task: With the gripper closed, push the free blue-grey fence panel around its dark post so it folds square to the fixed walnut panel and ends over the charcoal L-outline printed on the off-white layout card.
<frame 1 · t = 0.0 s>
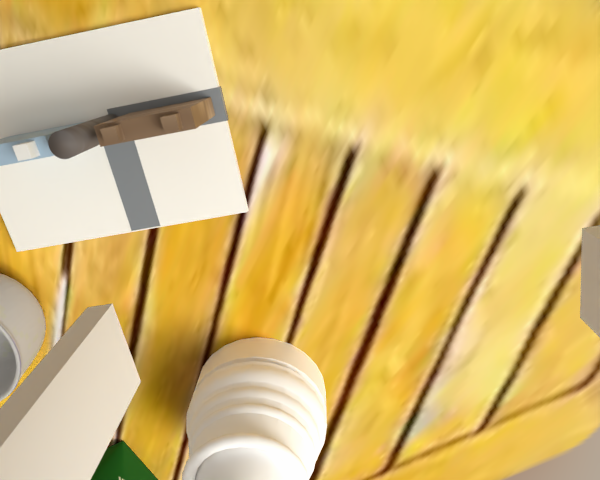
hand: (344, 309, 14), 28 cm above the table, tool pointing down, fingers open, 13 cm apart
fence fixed: (115, 124, 40), resting on layout card
milk carton: (116, 472, 54), on the table
layout card: (102, 139, 40), on the table
fence panel: (24, 146, 36), point 5 cm above the table, hinge at 0.0°
honey pot: (261, 390, 49), on the table
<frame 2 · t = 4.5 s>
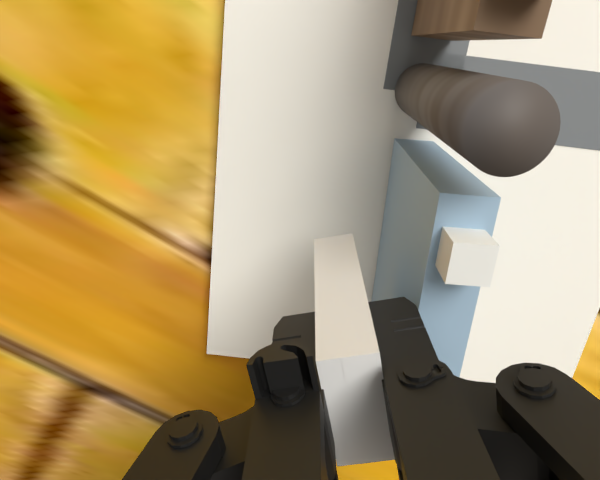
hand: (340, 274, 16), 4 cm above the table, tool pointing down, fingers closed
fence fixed: (417, 88, 18), resting on layout card
layout card: (435, 133, 18), on the table
fence panel: (419, 275, 15), point 5 cm above the table, hinge at 2.6°, touching gripper
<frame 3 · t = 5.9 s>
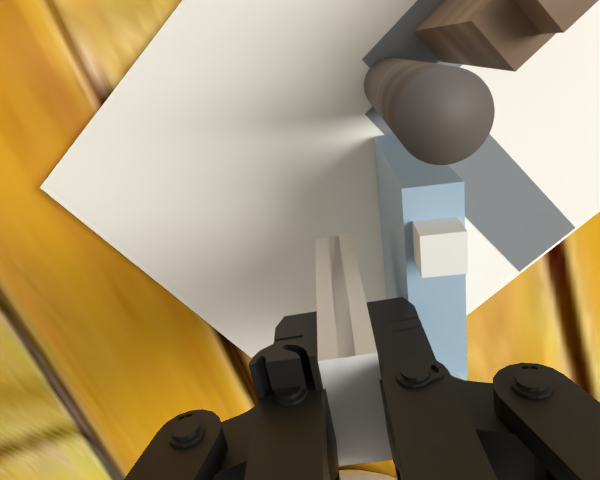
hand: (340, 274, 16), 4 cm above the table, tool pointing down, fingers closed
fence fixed: (387, 83, 18), resting on layout card
layout card: (376, 133, 18), on the table
fence panel: (417, 269, 15), point 5 cm above the table, hinge at 51.2°, touching gripper
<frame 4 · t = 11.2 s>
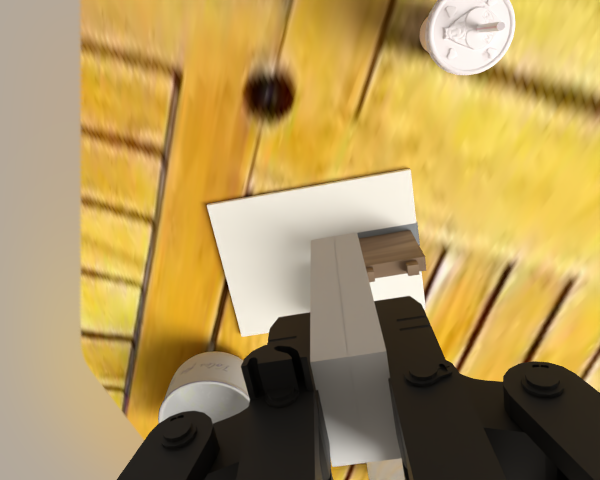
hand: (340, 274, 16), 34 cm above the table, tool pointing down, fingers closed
smoothie: (439, 33, 45), on the table
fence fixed: (332, 246, 53), resting on layout card
teacup: (211, 381, 60), on the table
layout card: (320, 256, 53), on the table
honey pot: (414, 438, 62), on the table
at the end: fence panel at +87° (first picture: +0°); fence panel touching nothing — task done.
